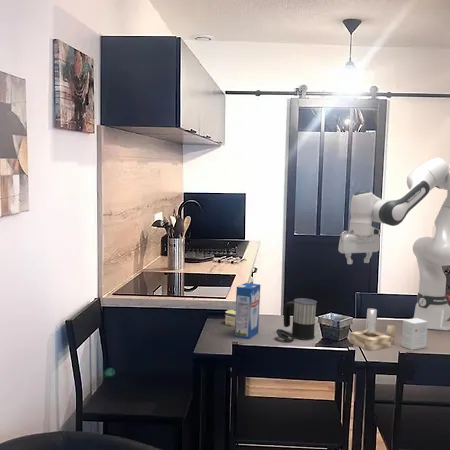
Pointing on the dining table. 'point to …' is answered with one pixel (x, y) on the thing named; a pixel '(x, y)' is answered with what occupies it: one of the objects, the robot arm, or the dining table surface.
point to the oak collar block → (370, 340)
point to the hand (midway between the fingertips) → (358, 263)
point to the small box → (414, 333)
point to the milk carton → (247, 310)
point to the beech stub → (391, 333)
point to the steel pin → (371, 322)
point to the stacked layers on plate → (230, 317)
